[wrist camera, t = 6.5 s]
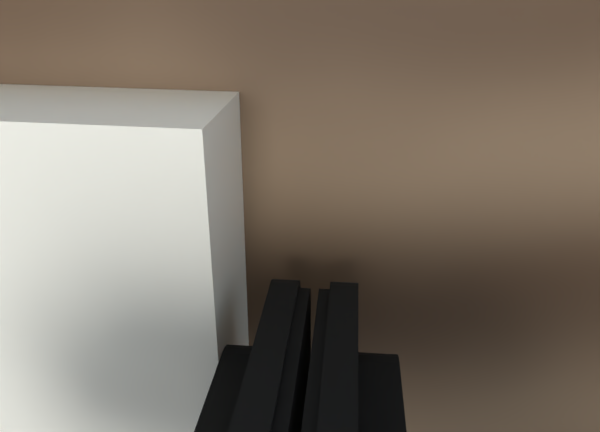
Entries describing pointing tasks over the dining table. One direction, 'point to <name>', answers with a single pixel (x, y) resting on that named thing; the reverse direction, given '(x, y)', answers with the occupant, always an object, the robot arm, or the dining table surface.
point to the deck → (393, 173)
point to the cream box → (117, 255)
